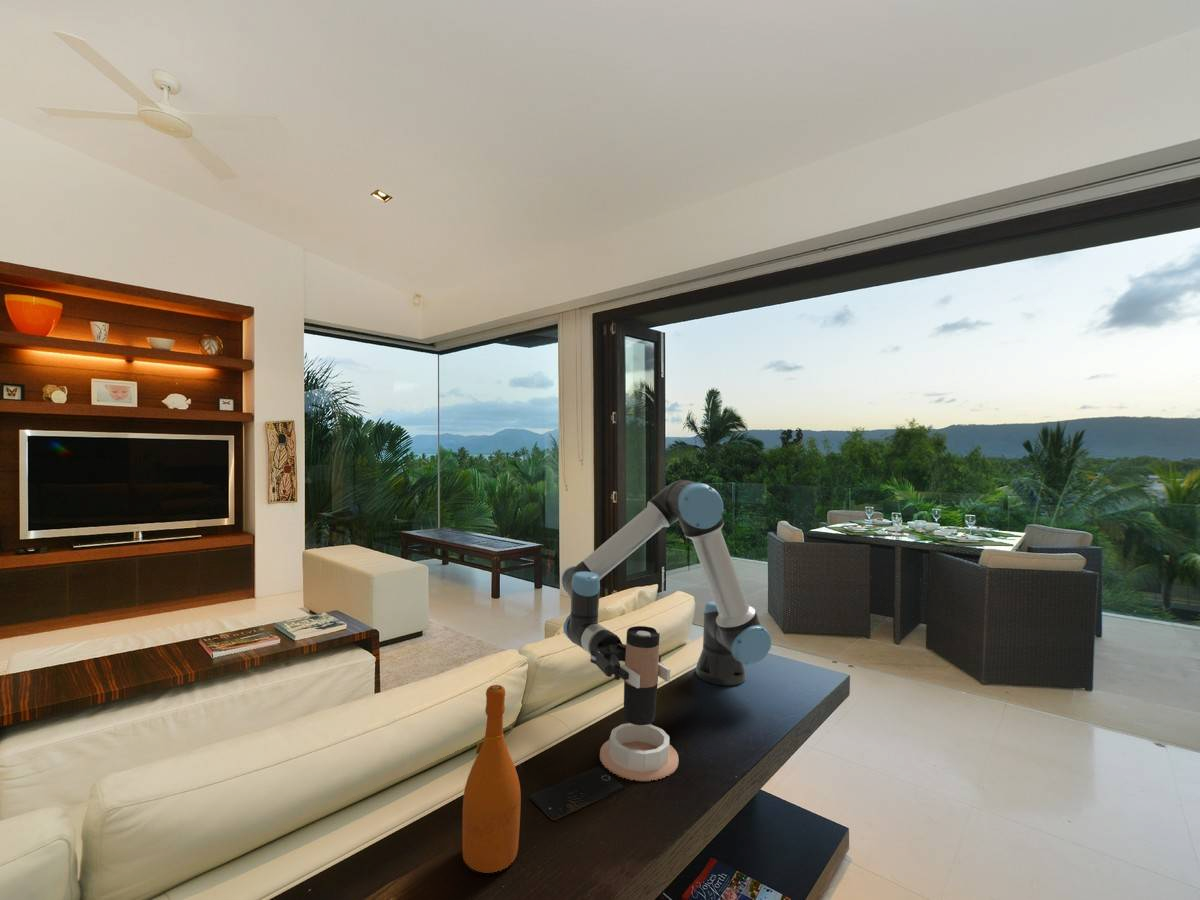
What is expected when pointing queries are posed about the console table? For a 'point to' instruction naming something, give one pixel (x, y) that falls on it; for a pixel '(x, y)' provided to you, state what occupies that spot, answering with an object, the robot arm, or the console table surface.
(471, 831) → the wine bottle
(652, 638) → the travel mug
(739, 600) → the robot arm
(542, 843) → the console table surface
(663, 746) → the white and pink ring
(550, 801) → the cell phone
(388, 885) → the console table surface
